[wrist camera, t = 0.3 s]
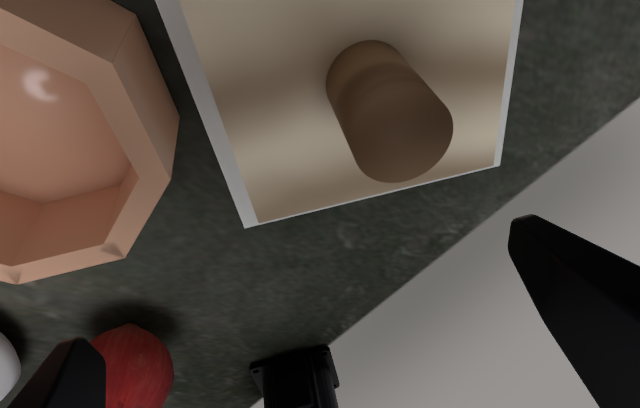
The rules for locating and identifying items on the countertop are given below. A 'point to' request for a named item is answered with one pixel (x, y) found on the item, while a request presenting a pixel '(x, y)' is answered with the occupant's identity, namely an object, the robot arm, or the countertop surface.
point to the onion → (134, 367)
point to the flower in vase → (8, 366)
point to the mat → (215, 128)
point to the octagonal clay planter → (77, 135)
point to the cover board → (292, 96)
